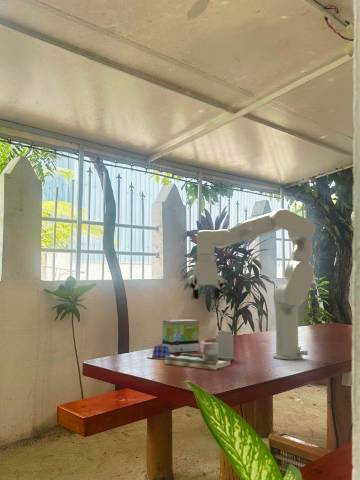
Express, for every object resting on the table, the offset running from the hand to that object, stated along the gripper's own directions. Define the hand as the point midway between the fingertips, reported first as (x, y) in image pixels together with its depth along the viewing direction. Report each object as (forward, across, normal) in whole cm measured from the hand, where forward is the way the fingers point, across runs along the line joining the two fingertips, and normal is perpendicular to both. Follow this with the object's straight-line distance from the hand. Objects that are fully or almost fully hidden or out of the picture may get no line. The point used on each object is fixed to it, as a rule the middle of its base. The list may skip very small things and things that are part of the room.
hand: (206, 298), depth 191 cm
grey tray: (+25, +9, +9) cm, 28 cm away
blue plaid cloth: (+26, +16, -13) cm, 33 cm away
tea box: (+26, +1, -28) cm, 38 cm away
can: (+26, -6, +3) cm, 27 cm away
